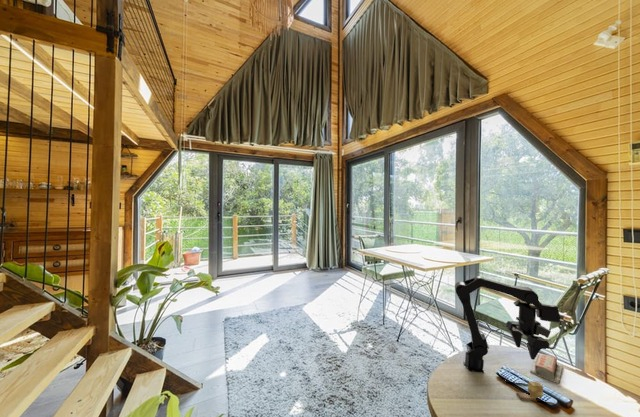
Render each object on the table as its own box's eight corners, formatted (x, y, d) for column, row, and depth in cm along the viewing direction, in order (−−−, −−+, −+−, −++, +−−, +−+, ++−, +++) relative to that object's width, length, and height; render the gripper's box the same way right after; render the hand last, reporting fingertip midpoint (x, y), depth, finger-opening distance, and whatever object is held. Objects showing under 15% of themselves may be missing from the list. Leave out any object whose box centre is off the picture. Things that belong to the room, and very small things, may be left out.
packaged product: (559, 373, 112) (530, 363, 120) (559, 384, 112) (529, 373, 120) (563, 357, 125) (536, 349, 132) (562, 368, 125) (535, 358, 132)
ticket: (505, 382, 112) (505, 379, 112) (496, 372, 118) (496, 370, 118) (535, 385, 111) (535, 383, 111) (525, 375, 117) (525, 373, 117)
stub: (520, 399, 102) (521, 384, 102) (516, 394, 105) (517, 379, 105) (554, 403, 101) (555, 387, 101) (548, 398, 103) (549, 383, 103)
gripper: (565, 329, 103) (563, 368, 103) (531, 310, 122) (530, 343, 122) (534, 326, 104) (532, 365, 105) (506, 308, 123) (504, 341, 123)
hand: (525, 353), depth 114 cm, fingers open, 9 cm apart
